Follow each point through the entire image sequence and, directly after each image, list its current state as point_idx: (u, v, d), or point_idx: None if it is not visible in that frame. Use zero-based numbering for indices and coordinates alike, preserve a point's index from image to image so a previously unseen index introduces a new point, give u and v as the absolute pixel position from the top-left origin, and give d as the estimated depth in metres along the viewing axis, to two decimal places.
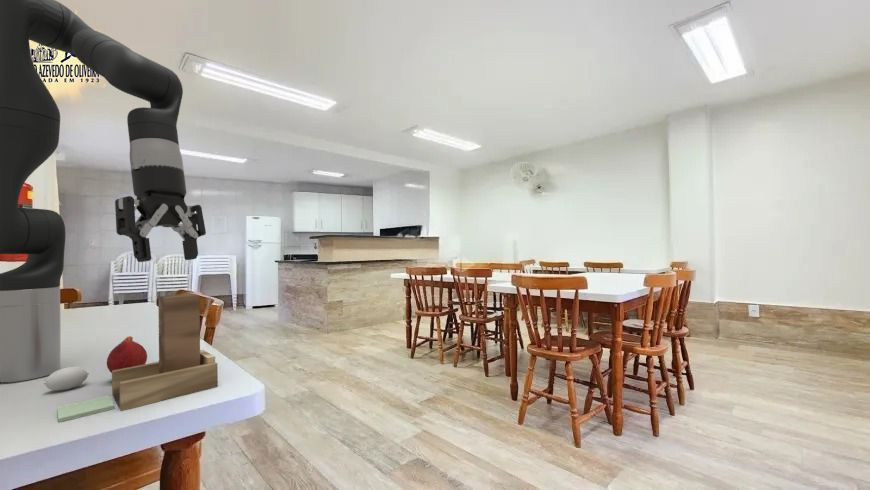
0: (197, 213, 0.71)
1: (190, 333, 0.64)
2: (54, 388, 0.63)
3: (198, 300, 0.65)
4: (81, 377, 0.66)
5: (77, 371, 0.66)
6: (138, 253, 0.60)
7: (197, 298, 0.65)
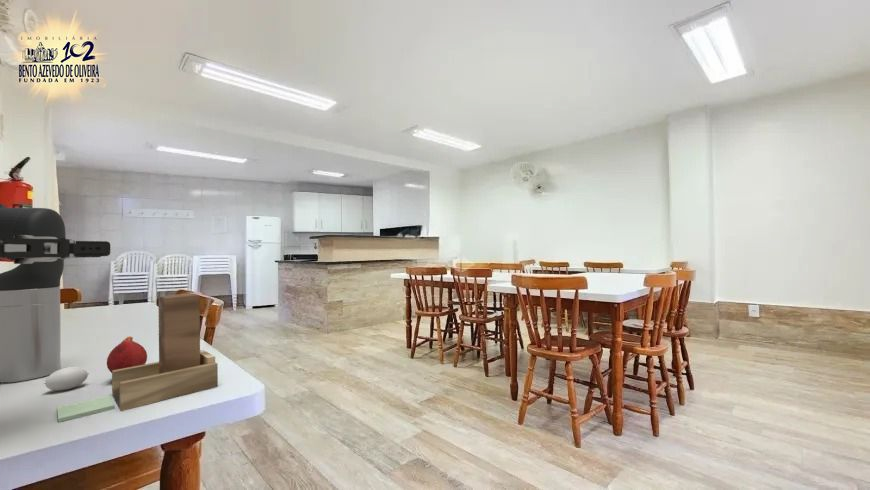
0: (23, 257, 0.48)
1: (190, 333, 0.64)
2: (54, 388, 0.63)
3: (198, 300, 0.65)
4: (81, 377, 0.66)
5: (77, 371, 0.66)
6: None
7: (197, 298, 0.65)
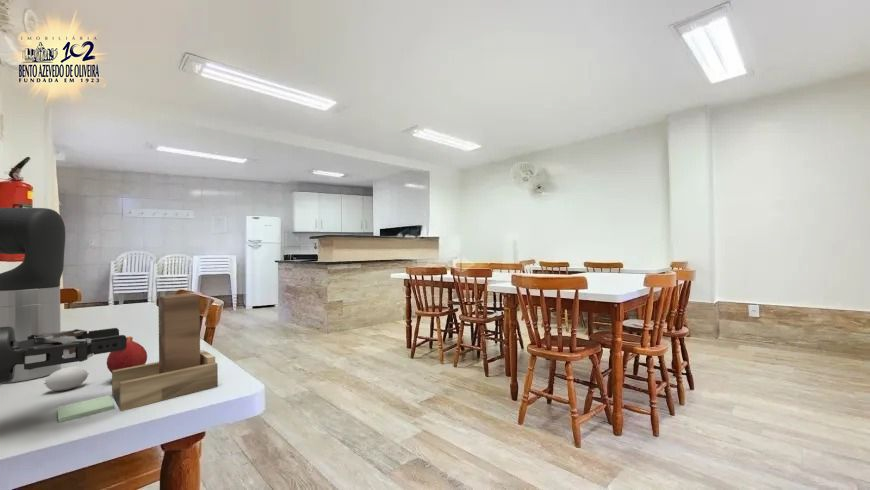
0: None
1: (190, 333, 0.64)
2: (53, 388, 0.63)
3: (198, 300, 0.65)
4: (81, 377, 0.66)
5: (77, 371, 0.66)
6: None
7: (197, 298, 0.65)
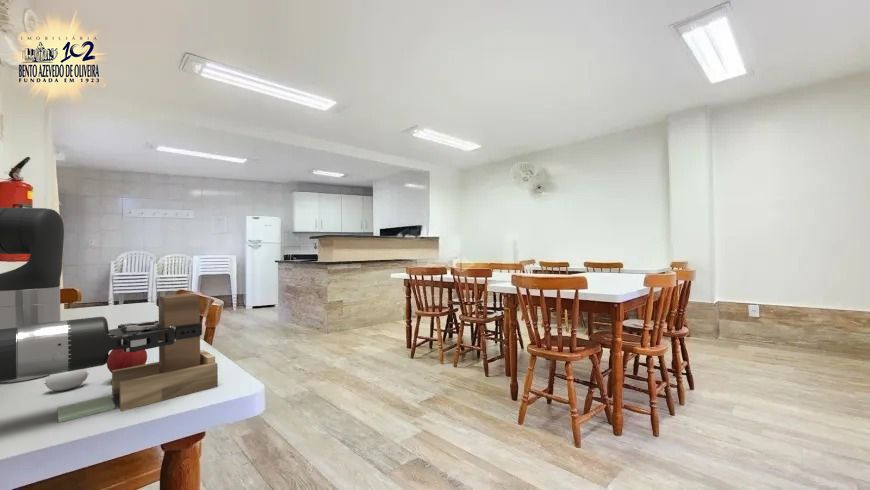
0: None
1: None
2: (54, 388, 0.63)
3: (198, 300, 0.65)
4: (81, 377, 0.66)
5: (77, 371, 0.66)
6: None
7: (197, 298, 0.65)
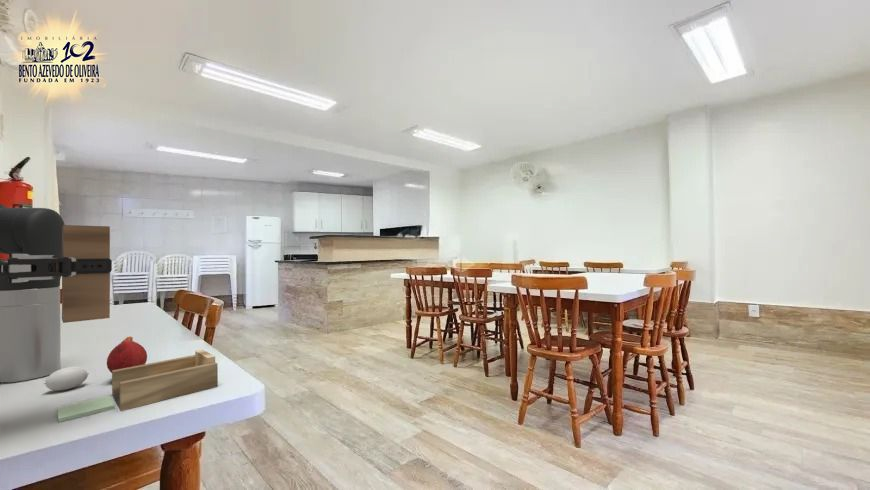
0: None
1: None
2: (54, 388, 0.63)
3: (108, 232, 0.57)
4: (81, 377, 0.66)
5: (77, 371, 0.66)
6: None
7: (107, 230, 0.57)
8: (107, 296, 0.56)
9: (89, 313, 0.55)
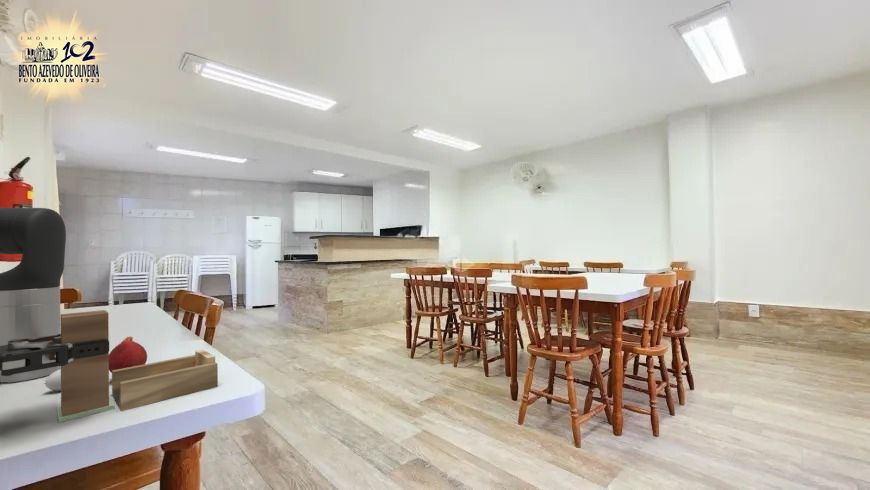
0: None
1: (95, 357, 0.55)
2: (54, 388, 0.63)
3: (107, 319, 0.56)
4: None
5: None
6: None
7: (105, 317, 0.56)
8: (106, 384, 0.56)
9: (88, 403, 0.55)
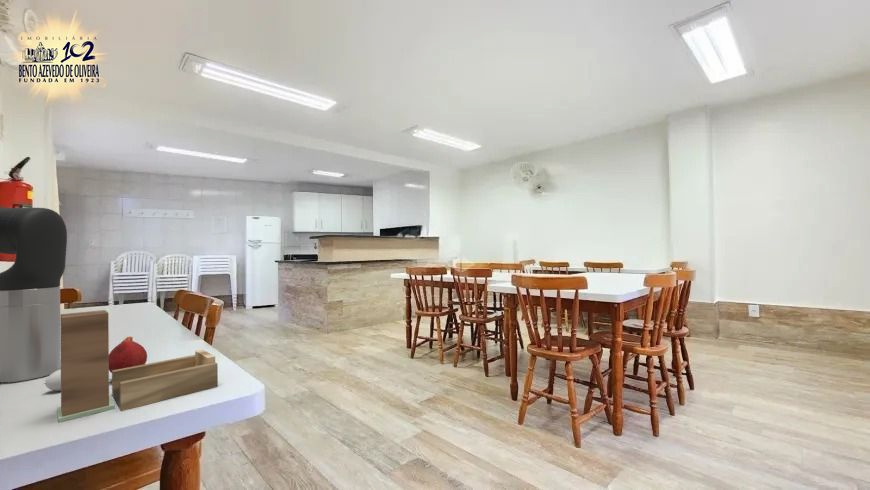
0: None
1: (95, 357, 0.55)
2: (54, 388, 0.63)
3: (107, 319, 0.56)
4: None
5: None
6: None
7: (105, 317, 0.56)
8: (106, 384, 0.56)
9: (88, 403, 0.55)
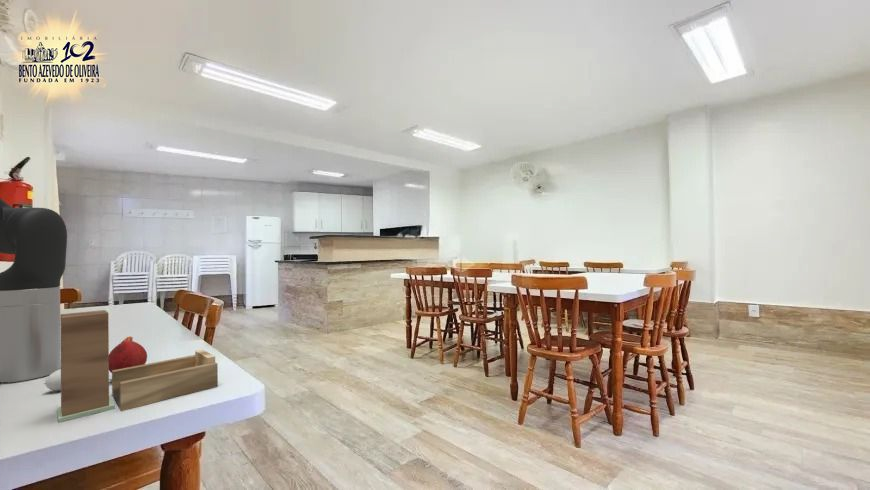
0: None
1: (95, 357, 0.55)
2: (53, 388, 0.63)
3: (107, 319, 0.56)
4: None
5: None
6: None
7: (105, 317, 0.56)
8: (106, 384, 0.56)
9: (88, 403, 0.55)
